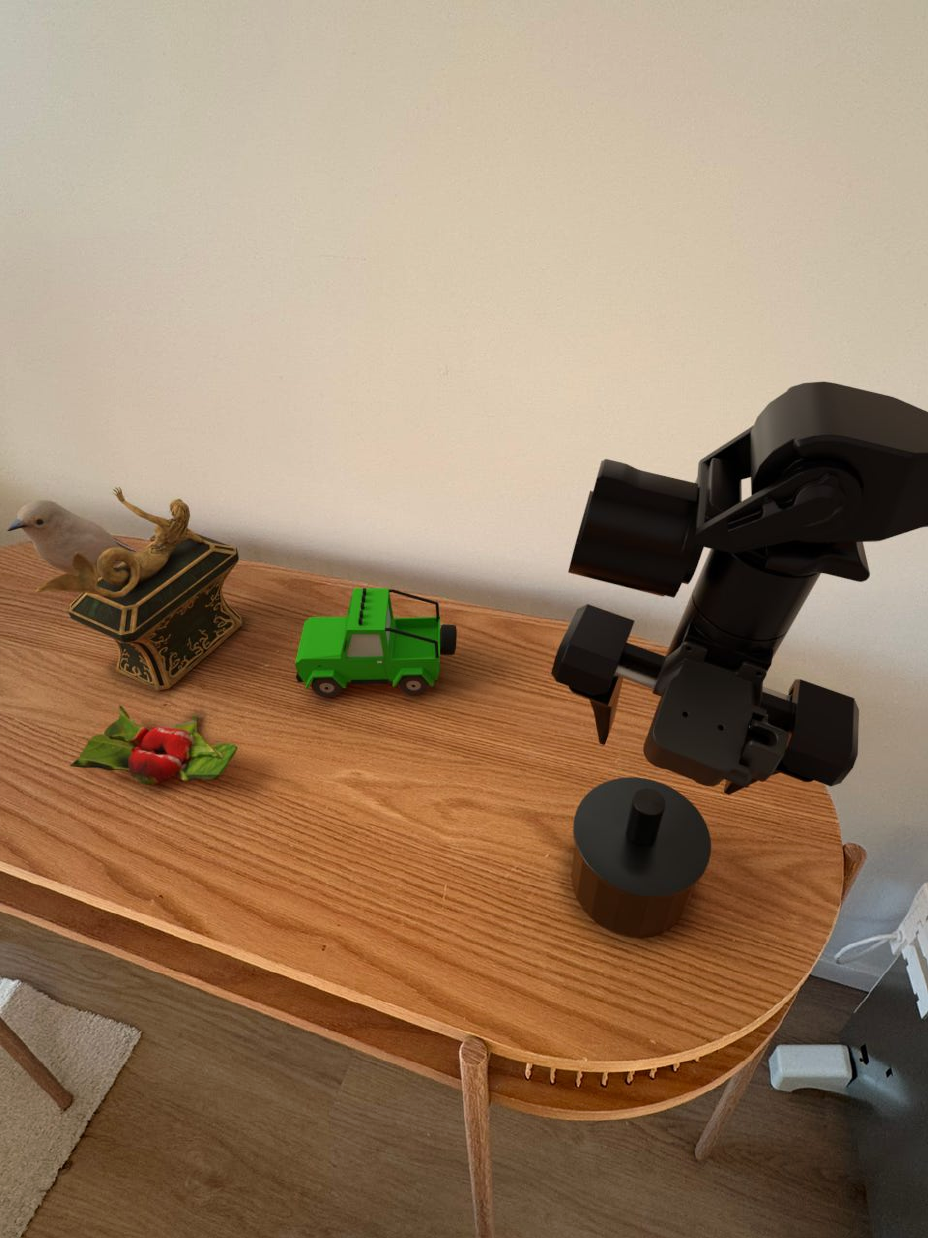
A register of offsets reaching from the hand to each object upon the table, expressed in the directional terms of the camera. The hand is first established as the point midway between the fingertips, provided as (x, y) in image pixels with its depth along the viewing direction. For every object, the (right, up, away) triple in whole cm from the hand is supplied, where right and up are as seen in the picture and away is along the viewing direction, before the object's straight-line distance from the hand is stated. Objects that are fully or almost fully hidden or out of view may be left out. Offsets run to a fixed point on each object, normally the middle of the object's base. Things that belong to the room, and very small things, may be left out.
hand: (663, 764), depth 53 cm
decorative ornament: (-43, -3, +21) cm, 48 cm away
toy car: (-24, +4, +29) cm, 38 cm away
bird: (-61, +14, +41) cm, 75 cm away
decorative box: (-49, +6, +32) cm, 58 cm away
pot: (0, -12, +9) cm, 15 cm away
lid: (-1, -7, +5) cm, 8 cm away
